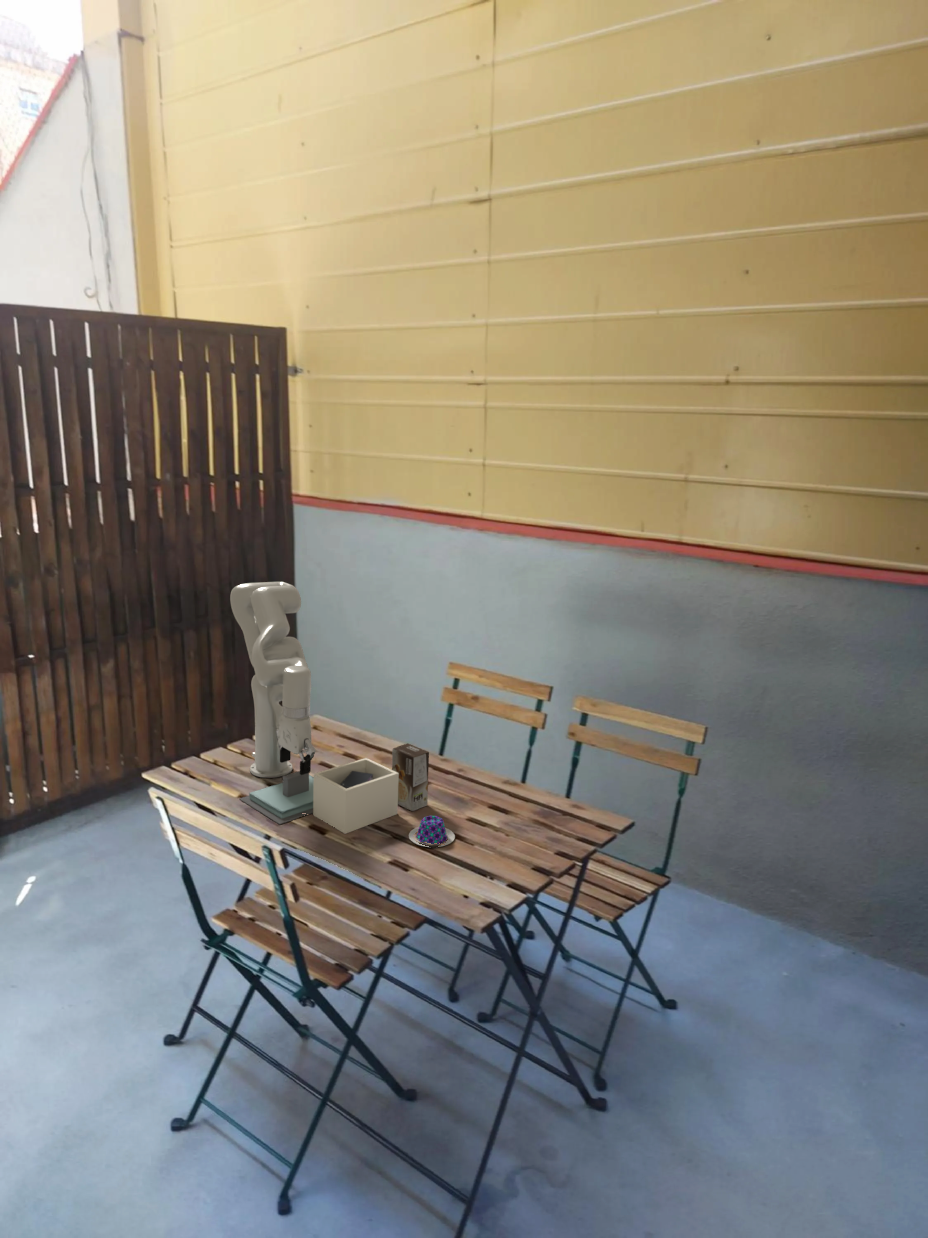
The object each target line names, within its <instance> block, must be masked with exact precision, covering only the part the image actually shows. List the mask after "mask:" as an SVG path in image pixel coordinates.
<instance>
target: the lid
mask: <svg viewBox="0 0 928 1238" xmlns="http://www.w3.org/2000/svg"><path fill="white" fill-rule="evenodd" d="M313 786H314V776H312V775H311V774H310V773H307V774H304V775H300V770H299V771H296V772H292V773H291V772H290V773H288V774H287V775H284V776H282V782H279V783H277V784H274V785H271V786H267V787H264V788H260V789H258V790H253V791H251V792H249V793H248V794H249V795H248V796H249V799H251V800H252V801H254V802H255V803H257V804H259V805H260V806H262V807H263V808H265V809H267V810H268V811H270V812H272V813H273V814H275V815H276V816H278V817H280V818H281V819H282V818H285V817H288V816H291V815H294V814H297V813H300V812H303V811H306V810H308V809H311V808H313Z"/></svg>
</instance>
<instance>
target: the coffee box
mask: <svg viewBox="0 0 928 1238" xmlns="http://www.w3.org/2000/svg"><path fill="white" fill-rule="evenodd" d="M391 755H392V759H391V760H392V761H391V765H392V766H391V770H393V771H395V772H397V773H399V780H398V806H401V807H403V808H405V809H407V810H409V811H412V812H414V811H417V810H419V809H422V808H424V807H427V806H428V798H429V797H428V792H429V791H428V790H429V788H428V787H429V768H430V767H429V765H430V764H429V762H430V752H429V751H428V750H425V749H423V748H420V747H418V746H415V745H413V744H410V743H404V744H401V745H398V746H397V747H394V748H392V754H391Z"/></svg>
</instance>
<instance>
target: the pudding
mask: <svg viewBox="0 0 928 1238" xmlns="http://www.w3.org/2000/svg"><path fill="white" fill-rule="evenodd" d="M445 825H446V824H445V822H444V819H443V818H442V817H439V816H438V815H428V816H424V817H422V819H421V821H420V823H419V826H417V827H415V828H413V829H411V830H410V831H409V833H408V838H409V840H410V841H411V842H412V843H413V844H416V845H418V846H421V847H427V848H430V847H429V846H425V845H422V844H423V843H422V844H419V843H418V842H419V841H420V842H427V843H431V844H434V843H437V844H436V845H439V843H440V844H441V843H442V844H443V843H444V844H445V845H441V846H438V847H440V848H441V847H444V846H447V845H449V844H451V843H452V842H454V840H455V838H456V835H455V833H454V831H452V830H451V829H449V828H447V827H445ZM417 831H418V833H417V835H416V837H417V838H418V839H419V840H418V839H417V840H418V842H416V841H415V840H414V838H412V837H414V836H413V835H414V834H415V833H416V832H417ZM447 839H448V840H447ZM446 840H447V841H446ZM443 841H444V842H443ZM445 842H446V843H445ZM434 845H435V844H434ZM438 847H437V848H438Z"/></svg>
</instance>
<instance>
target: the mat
mask: <svg viewBox="0 0 928 1238" xmlns="http://www.w3.org/2000/svg"><path fill="white" fill-rule="evenodd" d="M239 801H241V802H243V803H245V804H246V805H248V806H249V807H251V808H252V809H254V811H255V810H256V811H257V812H259V813H260V814H262V815H263V816H265V817H267V818H269V819H270V820H272V822H274V823H276V824H278V825H279V826H280V825H283V824H286V823H288V822H292V821H296V820H297V818H298V819H300V818H299V817H301V816H304V815H306V816H308V815H307V814H309V815H312V814H313V808H311V809H308V810H306V811H303V812H300V813H297V814H294V815H291V816H288V817H285V818H282V819H281V818H280V817H278V816H276V815H275V814H273V813H272V812H270V811H268V810H267V809H265V808H263V807H262V806H260V805H259V804H257V803H255V802H254V801H252V800H251V799H249V795H247V796H244V797H240V798H239ZM302 813H306V814H302ZM304 817H305V816H304ZM301 818H302V817H301Z"/></svg>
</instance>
